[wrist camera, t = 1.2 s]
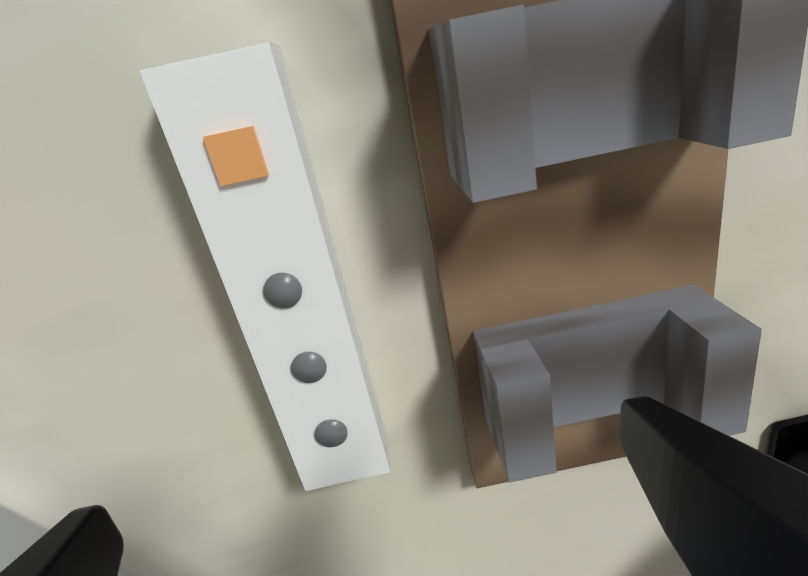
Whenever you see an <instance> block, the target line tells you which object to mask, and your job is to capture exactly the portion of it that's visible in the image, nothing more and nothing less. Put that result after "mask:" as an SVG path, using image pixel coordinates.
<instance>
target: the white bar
mask: <svg viewBox="0 0 808 576" xmlns="http://www.w3.org/2000/svg"><path fill="white" fill-rule="evenodd" d="M139 71H140V73H141V76H142V78H143V81H144V83H145V86H146V89H147V91H148V94H149V96H150V99H151V101H152V104H153V106H154V109H155V111H156V114H157V116H158V119H159V121H160V124H161V127H162V129H163V132H164V134H165V137H166V139H167V142H168V144H169V147H170V149H171V152H172V154H173V157H174V159H175V162H176V165H177V167H178V170H179V172H180V175H181V177H182V180H183V182H184V185H185V187H186V190H187V192H188V195H189V197H190V200H191V203H192V205H193V208H194V210H195V213H196V215H197V218H198V220H199V223H200V225H201V228H202V230H203V233H204V236H205V238H206V241H207V243H208V246H209V248H210V251H211V253H212V256H213V258H214V261H215V263H216V266H217V268H218V271H219V274H220V276H221V279H222V281H223V284H224V286H225V289H226V291H227V294H228V296H229V299H230V301H231V304H232V306H233V309H234V312H235V314H236V317H237V319H238V322H239V324H240V327H241V329H242V332H243V334H244V337H245V339H246V342H247V344H248V347H249V350H250V352H251V355H252V357H253V360H254V362H255V365H256V367H257V370H258V372H259V375H260V377H261V380H262V383H263V385H264V388H265V390H266V393H267V395H268V398H269V400H270V403H271V405H272V408H273V410H274V413H275V415H276V418H277V421H278V423H279V426H280V428H281V431H282V433H283V436H284V438H285V441H286V443H287V446H288V448H289V451H290V453H291V456H292V459H293V461H294V464H295V466H296V469H297V471H298V474H299V476H300V479H301V481H302V484H303V486H304V489H305V491H308V490H313V489H317V488H322V487H326V486H331V485H335V484H340V483H344V482H349V481H353V480H358V479H362V478H366V477H371V476H375V475H380V474H384V473H389V472H390V463H389V453H388V442H387V433H386V429H385V425H384V422H383V418H382V414H381V411H380V407H379V404H378V400H377V396H376V393H375V389H374V385H373V382H372V378H371V374H370V371H369V367H368V363H367V360H366V356H365V352H364V349H363V345H362V341H361V338H360V334H359V331H358V327H357V323H356V320H355V316H354V312H353V309H352V305H351V301H350V298H349V294H348V290H347V287H346V283H345V279H344V276H343V272H342V269H341V265H340V261H339V258H338V254H337V250H336V247H335V243H334V239H333V236H332V232H331V228H330V225H329V221H328V217H327V214H326V210H325V206H324V203H323V199H322V196H321V192H320V188H319V185H318V181H317V177H316V174H315V170H314V166H313V163H312V159H311V155H310V152H309V148H308V144H307V141H306V137H305V134H304V130H303V126H302V123H301V119H300V115H299V112H298V108H297V104H296V101H295V97H294V93H293V90H292V86H291V82H290V79H289V75H288V72H287V68H286V64H285V61H284V57H283V53H282V50H281V46H280V45H278V44H274V43H270V42H268V43H263V44H258V45H254V46H249V47H245V48H240V49H235V50H231V51H226V52H222V53H217V54H212V55H208V56H203V57H198V58H194V59H189V60H185V61H180V62H175V63H171V64H166V65H162V66H157V67H152V68H148V69H143V70H139Z"/></svg>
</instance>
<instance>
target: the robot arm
mask: <svg viewBox="0 0 808 576" xmlns="http://www.w3.org/2000/svg"><path fill="white" fill-rule="evenodd" d="M620 442H621V445H622V448H623V450H624V452H625V454H626V456H627V458H628V460H629V462H630V464H631V466H632V468H633V470H634V472H635V474H636V476H637V478H638V480H639V482H640V484H641V486H642V488H643V490H644V492H645V494H646V496H647V498H648V500H649V502H650V504H651V506H652V508H653V510H654V512H655V514H656V516H657V518H658V520H659V522H660V524H661V526H662V528H663V530H664V532H665V533H666V535H667V537H668V538H669V540H670V542H671V543H672V545H673V547H674V548H675V550H676V551H677V553H678V555H679V556H680V558H681V559H682V561H683V562H684V564H685V566H686V567H687V569H688V570H689V572H690V573H691V575H692V576H808V415H807V416H802V417H798V418H793V419H788V420H784V421H780V422H778V423H777V424H775V425H774V427H773V429H772V433H771V438H770V444H769V449H768V455H767V454H765V453H763V452H761V451H759V450H757V449H755V448H753V447H751V446H749V445H747V444H745V443H743V442H741V441H739V440H737V439H734V438H732V437H730V436H728V435H726V434H724V433H722V432H720V431H718V430H716V429H714V428H712V427H710V426H708V425H706V424H704V423H702V422H700V421H698V420H696V419H694V418H692V417H690V416H688V415H686V414H684V413H681V412H679V411H677V410H675V409H673V408H671V407H669V406H667V405H665V404H663V403H661V402H659V401H657V400H655V399H653V398H651V397H648V396H640V397H635V398H630V399H626V400H624V401H623V402H622V404H621V412H620ZM123 546H124V544H123V538H122V535H121V533H120V531H119V530H118V528H117V527H116V525H115V523H114V522H113V520H112V518H111V517H110V515H109V514H108V512H107V510H106V509H105V508H104V507H103V506H101V505H93V506H88V507H83V508H78V509H76V510H73V511H72V512H70V513H69V514H68V515H67V516H66V517H64V518H63V519H62V520H61V521H60V522H59V523H57V524H56V525H55V526H54V527H53V528H52V529H50V530H49V531H48V532H47V533H46V534H45V535H44V536H42V537H41V538H40V539H39V540H38V541H36V542H35V543H34V544H33V545H32V546H31V547H30V548H28V549H27V550H26V551H25V552H24V553H23V554H21V555H20V556H19V557H18V558H17V559H16V560H14V561H13V562H12V563H11V564H10V565H9V566H7V567H6V568H5V569H4V570H3V571H2V572H0V576H117V575H118V571H119V567H120V563H121V558H122V554H123Z"/></svg>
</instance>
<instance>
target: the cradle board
mask: <svg viewBox="0 0 808 576" xmlns="http://www.w3.org/2000/svg"><path fill="white" fill-rule="evenodd" d="M391 6H392V12H393V18H394V23H395V29H396V35H397V41H398V47H399V52H400V58H401V64H402V70H403V76H404V81H405V87H406V93H407V99H408V105H409V110H410V116H411V122H412V128H413V134H414V139H415V145H416V151H417V157H418V163H419V168H420V174H421V180H422V186H423V191H424V197H425V203H426V209H427V215H428V220H429V226H430V232H431V238H432V244H433V249H434V255H435V261H436V267H437V273H438V278H439V284H440V290H441V296H442V302H443V307H444V313H445V319H446V325H447V331H448V336H449V342H450V348H451V354H452V359H453V365H454V371H455V377H456V383H457V388H458V394H459V400H460V406H461V412H462V417H463V423H464V429H465V435H466V441H467V446H468V452H469V458H470V464H471V470H472V475H473V478H474V482H475V485H476V488H481V487H486V486H490V485H495V484H500V483H504V482H509V483H510V482H514V481H519V480H524V479H528V478H533V477H538V476H542V475H547V474H552V473H556V472H557V471H560V470H565V469H570V468H574V467H579V466H584V465H588V464H593V463H598V462H602V461H607V460H612V459H616V458H621V457H626V454H625V452H624V450H623V448H622V445H621V442H620V412H621V404H622V402H623V401H624V400H626V399H630V398H635V397H640V396H648V397H651V398H653V399H655V400H657V401H659V402H661V403H663V404H665V405H667V406H669V407H671V408H673V409H675V410H677V411H679V412H681V413H684V414H686V415H688V416H690V417H692V418H694V419H696V420H698V421H700V422H702V423H704V424H706V425H708V426H710V427H712V428H714V429H716V430H718V431H720V432H722V433H724V434H726V435H728V436H729V435H734V434H739V433H743V432H746V428H747V422H748V415H749V409H750V402H751V396H752V389H753V383H754V376H755V369H756V363H757V356H758V350H759V343H760V337H761V330H762V329H761V328H759V327H758V326H756V325H755V324H753V323H752V322H750V321H749V320H747V319H745V318H744V317H742V316H741V315H739V314H738V313H736V312H735V311H733V310H732V309H730V308H729V307H727V306H726V305H724V304H722V303H721V302H719V301H718V300H716V299H715V298H714V288H715V278H716V268H717V258H718V248H719V238H720V228H721V218H722V208H723V198H724V188H725V178H726V168H727V158H728V149H731V148H736V147H740V146H745V145H750V144H755V143H759V142H764V141H769V140H774V139H778V138H783V137H788V136H791V134H792V127H793V120H794V114H795V107H796V101H797V94H798V88H799V81H800V75H801V68H802V62H803V55H804V48H805V42H806V35H807V29H808V0H391Z"/></svg>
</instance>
